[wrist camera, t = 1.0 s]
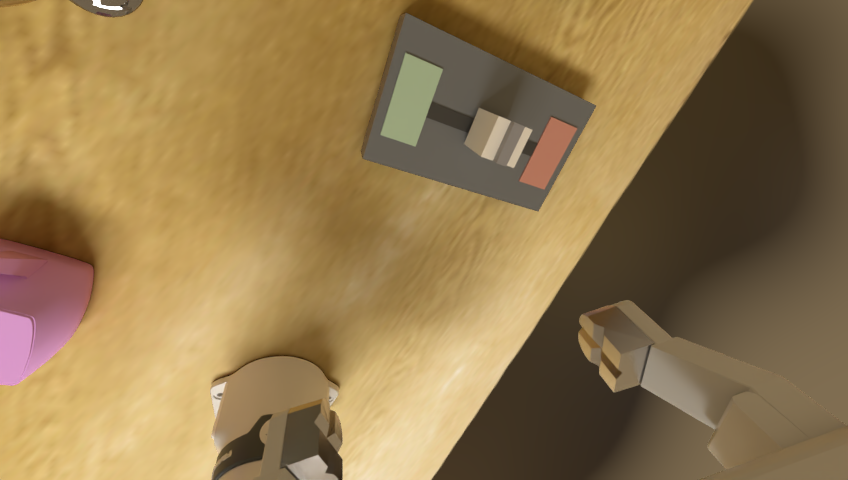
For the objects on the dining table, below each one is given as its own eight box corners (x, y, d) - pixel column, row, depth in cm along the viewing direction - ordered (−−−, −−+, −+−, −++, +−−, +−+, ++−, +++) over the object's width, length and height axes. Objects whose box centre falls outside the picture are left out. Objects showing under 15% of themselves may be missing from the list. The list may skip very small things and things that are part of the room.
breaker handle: (493, 154, 39) (517, 170, 34) (463, 144, 37) (483, 158, 32) (509, 120, 37) (536, 131, 32) (479, 107, 36) (502, 117, 31)
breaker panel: (527, 202, 47) (538, 212, 45) (360, 151, 38) (363, 159, 36) (580, 102, 42) (597, 105, 39) (400, 15, 33) (406, 12, 30)
